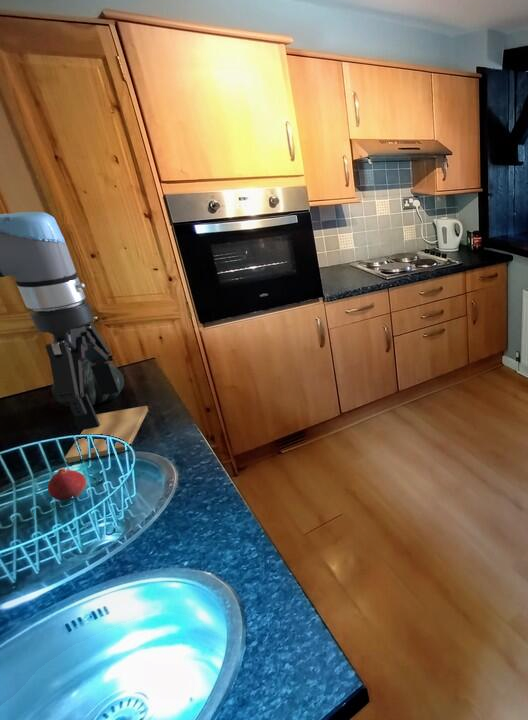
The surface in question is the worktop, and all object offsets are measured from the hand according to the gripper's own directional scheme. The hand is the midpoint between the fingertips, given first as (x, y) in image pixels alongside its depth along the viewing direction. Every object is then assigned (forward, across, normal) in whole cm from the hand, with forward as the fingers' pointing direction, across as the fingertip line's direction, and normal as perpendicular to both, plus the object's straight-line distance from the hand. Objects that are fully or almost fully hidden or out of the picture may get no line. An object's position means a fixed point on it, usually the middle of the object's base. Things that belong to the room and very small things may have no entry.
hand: (101, 409), depth 86 cm
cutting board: (+24, +34, +12) cm, 43 cm away
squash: (+24, +56, +20) cm, 64 cm away
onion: (+24, +9, +13) cm, 29 cm away
